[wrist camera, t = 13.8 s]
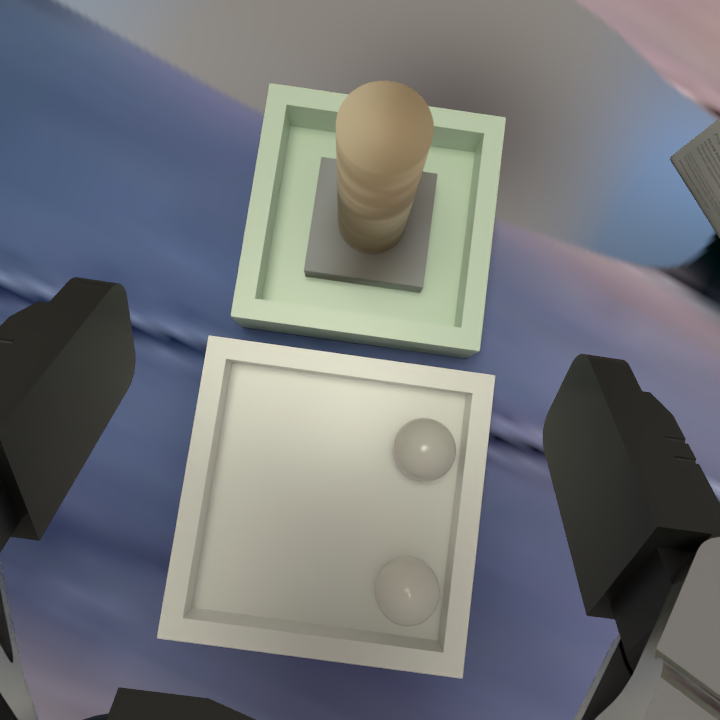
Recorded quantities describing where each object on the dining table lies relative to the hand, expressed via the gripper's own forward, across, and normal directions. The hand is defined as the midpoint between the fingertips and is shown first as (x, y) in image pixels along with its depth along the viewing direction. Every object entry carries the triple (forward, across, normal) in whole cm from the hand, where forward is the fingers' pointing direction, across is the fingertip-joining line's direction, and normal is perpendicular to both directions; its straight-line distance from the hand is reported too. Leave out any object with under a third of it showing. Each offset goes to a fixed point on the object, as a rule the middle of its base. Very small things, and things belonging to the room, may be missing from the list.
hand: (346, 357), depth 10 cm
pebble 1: (+10, -4, +13) cm, 17 cm away
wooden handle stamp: (+19, 0, +7) cm, 21 cm away
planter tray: (+20, 0, +7) cm, 21 cm away
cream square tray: (+10, 0, +17) cm, 20 cm away
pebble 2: (+6, -4, +18) cm, 19 cm away
